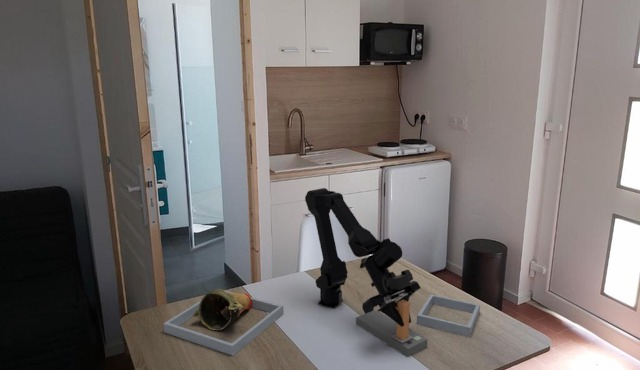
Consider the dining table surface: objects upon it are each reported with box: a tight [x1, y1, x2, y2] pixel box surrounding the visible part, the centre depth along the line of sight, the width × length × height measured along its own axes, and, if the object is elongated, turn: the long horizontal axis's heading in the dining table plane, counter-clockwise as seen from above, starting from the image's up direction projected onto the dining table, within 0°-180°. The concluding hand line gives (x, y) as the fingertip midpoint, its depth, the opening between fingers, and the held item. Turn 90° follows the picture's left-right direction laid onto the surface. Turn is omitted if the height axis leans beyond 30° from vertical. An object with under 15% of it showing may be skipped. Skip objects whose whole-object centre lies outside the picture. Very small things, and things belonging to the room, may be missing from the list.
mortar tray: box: [163, 288, 284, 357], centre depth 147 cm, size 26×26×3 cm
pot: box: [193, 288, 252, 331], centre depth 149 cm, size 18×12×19 cm
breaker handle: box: [391, 299, 414, 344], centre depth 132 cm, size 4×4×11 cm
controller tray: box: [416, 293, 481, 338], centre depth 149 cm, size 16×16×3 cm
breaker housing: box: [355, 309, 429, 358], centre depth 140 cm, size 22×8×3 cm, turn 37°
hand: (406, 324), depth 131 cm, fingers closed on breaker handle, 2 cm apart
